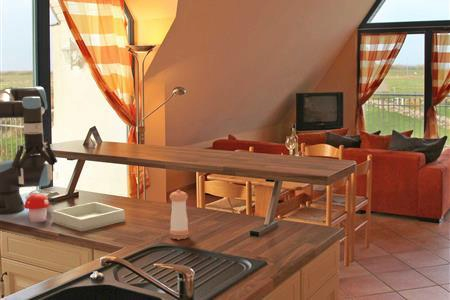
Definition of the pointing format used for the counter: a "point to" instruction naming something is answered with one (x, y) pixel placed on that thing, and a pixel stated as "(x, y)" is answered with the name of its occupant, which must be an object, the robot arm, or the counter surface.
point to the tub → (88, 216)
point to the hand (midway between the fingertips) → (36, 181)
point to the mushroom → (37, 207)
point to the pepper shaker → (179, 213)
